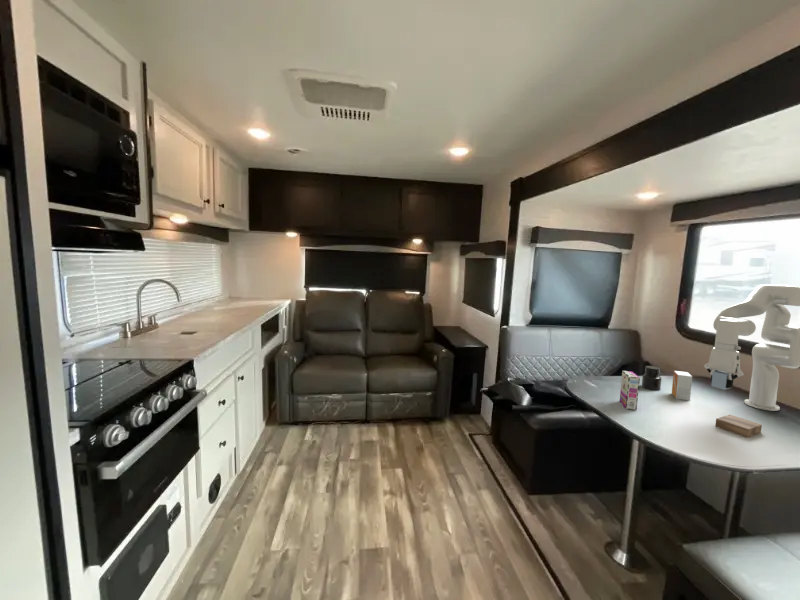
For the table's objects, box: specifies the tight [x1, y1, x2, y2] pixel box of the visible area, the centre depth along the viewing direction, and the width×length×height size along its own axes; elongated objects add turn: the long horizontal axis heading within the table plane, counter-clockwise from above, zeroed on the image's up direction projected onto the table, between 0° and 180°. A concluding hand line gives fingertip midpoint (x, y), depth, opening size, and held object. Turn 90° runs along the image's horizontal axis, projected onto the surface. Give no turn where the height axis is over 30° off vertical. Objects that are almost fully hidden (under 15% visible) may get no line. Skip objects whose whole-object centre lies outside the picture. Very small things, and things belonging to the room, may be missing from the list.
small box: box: [671, 370, 693, 401], centre depth 192 cm, size 8×6×13 cm
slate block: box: [710, 371, 732, 391], centre depth 165 cm, size 5×5×7 cm
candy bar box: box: [619, 370, 641, 411], centre depth 179 cm, size 11×5×16 cm, turn 163°
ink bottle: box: [641, 365, 662, 391], centre depth 206 cm, size 10×9×12 cm
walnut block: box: [714, 414, 763, 439], centre depth 156 cm, size 11×11×4 cm
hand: (721, 385), depth 165 cm, fingers closed on slate block, 5 cm apart
